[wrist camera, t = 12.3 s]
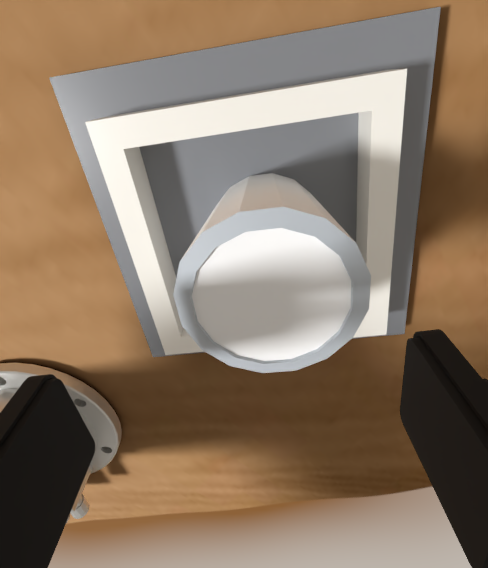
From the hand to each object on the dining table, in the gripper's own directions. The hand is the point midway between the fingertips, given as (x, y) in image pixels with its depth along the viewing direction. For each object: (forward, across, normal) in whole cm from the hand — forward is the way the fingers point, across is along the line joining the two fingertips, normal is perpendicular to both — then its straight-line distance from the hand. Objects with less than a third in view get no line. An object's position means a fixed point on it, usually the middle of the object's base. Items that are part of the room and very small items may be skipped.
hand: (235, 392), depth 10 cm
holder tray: (+11, -1, -1) cm, 11 cm away
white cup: (+10, -2, -1) cm, 11 cm away
